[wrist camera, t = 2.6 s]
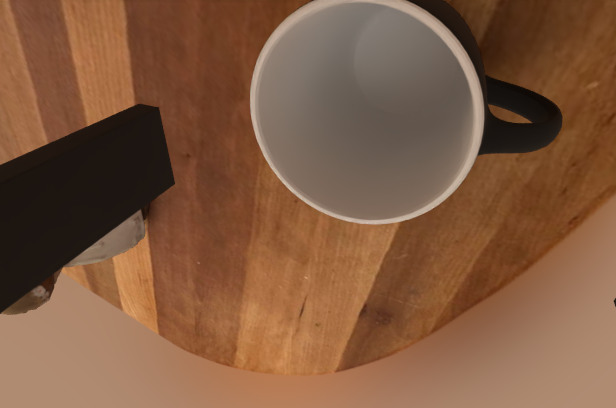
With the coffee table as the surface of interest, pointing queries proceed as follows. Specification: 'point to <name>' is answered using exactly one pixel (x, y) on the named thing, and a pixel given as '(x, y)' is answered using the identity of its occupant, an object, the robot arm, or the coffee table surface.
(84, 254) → the figurine
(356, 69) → the mug
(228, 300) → the coffee table surface
